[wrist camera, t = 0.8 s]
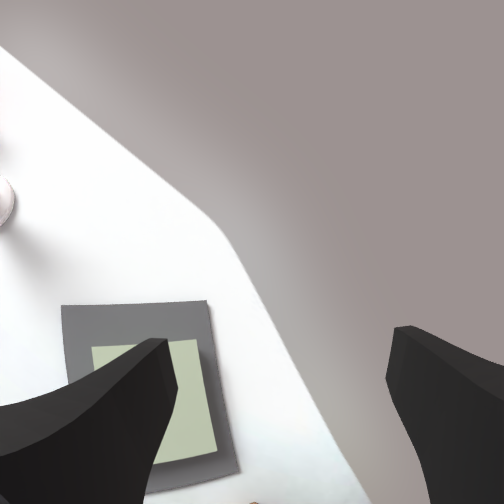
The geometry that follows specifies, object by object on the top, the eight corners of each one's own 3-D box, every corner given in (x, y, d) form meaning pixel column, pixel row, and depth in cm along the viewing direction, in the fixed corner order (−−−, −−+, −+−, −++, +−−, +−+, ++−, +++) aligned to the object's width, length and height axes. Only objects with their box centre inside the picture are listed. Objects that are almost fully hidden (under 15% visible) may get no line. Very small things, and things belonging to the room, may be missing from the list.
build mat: (235, 470, 19) (238, 471, 19) (97, 495, 14) (97, 498, 13) (204, 301, 24) (206, 300, 23) (61, 306, 18) (60, 305, 18)
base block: (206, 444, 19) (217, 450, 17) (113, 460, 15) (115, 469, 14) (187, 341, 21) (196, 339, 20) (91, 348, 18) (91, 346, 16)
